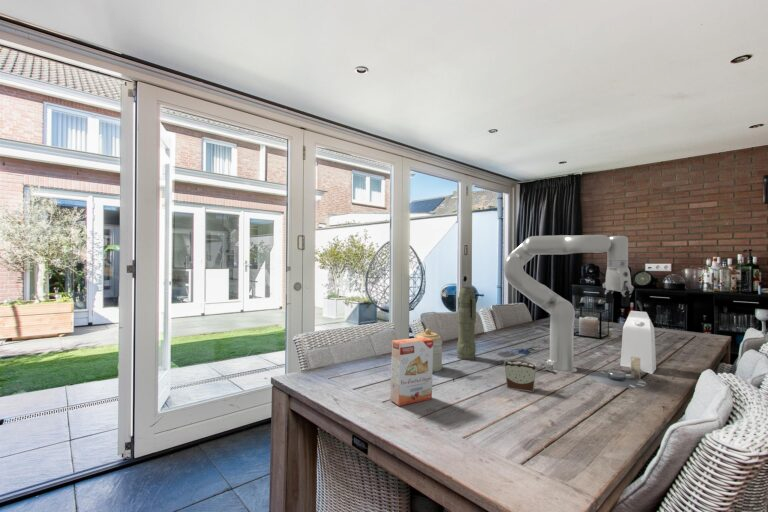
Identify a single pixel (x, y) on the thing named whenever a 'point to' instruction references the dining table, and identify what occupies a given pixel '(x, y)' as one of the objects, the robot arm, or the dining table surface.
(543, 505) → the dining table surface
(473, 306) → the thermos
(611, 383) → the dial board
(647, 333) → the milk
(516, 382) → the food container
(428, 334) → the jar
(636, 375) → the lever
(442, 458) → the dining table surface
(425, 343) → the cracker box
